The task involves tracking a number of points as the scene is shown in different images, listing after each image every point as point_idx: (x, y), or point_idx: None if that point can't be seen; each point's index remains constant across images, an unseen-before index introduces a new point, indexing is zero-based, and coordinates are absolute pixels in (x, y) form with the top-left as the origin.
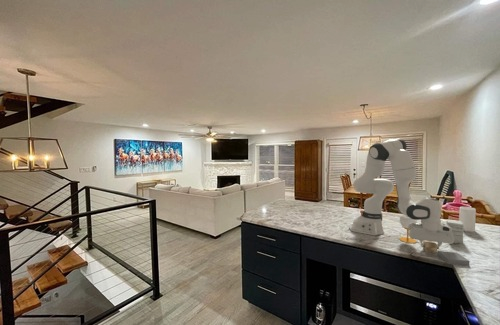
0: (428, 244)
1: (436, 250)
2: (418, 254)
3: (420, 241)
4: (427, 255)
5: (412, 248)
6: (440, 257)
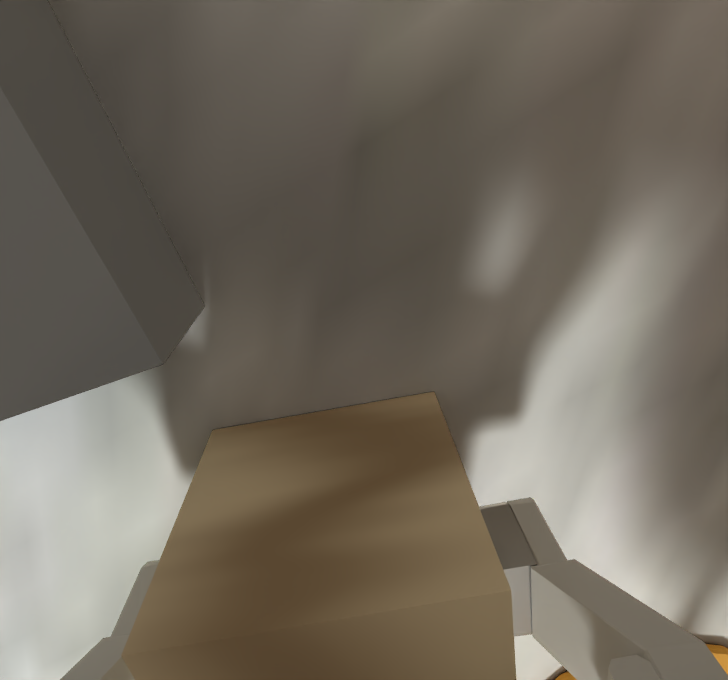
0: (423, 569)
1: (205, 475)
2: (683, 75)
3: (689, 646)
4: (448, 146)
5: (689, 422)
6: (132, 173)
